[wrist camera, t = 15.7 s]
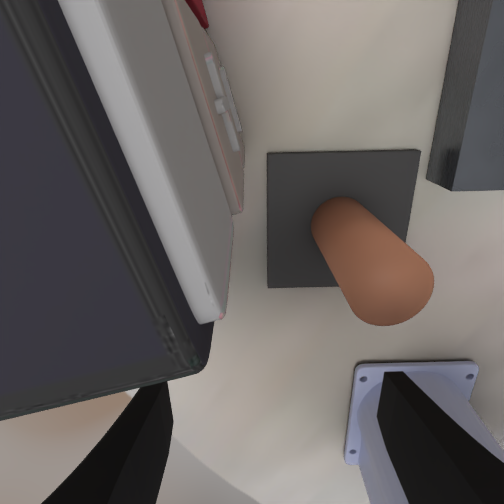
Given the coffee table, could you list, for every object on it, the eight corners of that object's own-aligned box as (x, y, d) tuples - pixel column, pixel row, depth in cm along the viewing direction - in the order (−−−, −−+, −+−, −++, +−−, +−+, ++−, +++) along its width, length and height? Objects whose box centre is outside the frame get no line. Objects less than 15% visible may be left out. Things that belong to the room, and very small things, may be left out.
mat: (394, 280, 21) (398, 284, 20) (267, 283, 21) (267, 288, 20) (416, 149, 18) (421, 150, 17) (267, 152, 18) (267, 154, 17)
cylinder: (364, 248, 19) (427, 323, 13) (310, 251, 19) (345, 328, 13) (369, 195, 18) (440, 248, 12) (311, 198, 18) (350, 253, 12)
